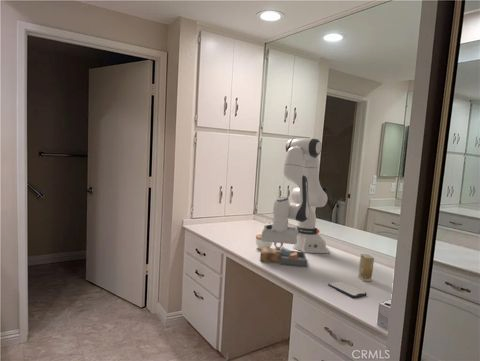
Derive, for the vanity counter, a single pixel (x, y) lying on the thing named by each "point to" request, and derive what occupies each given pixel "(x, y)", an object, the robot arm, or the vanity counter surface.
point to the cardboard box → (270, 255)
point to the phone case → (347, 289)
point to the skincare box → (366, 267)
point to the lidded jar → (262, 242)
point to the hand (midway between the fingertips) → (278, 250)
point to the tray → (294, 262)
